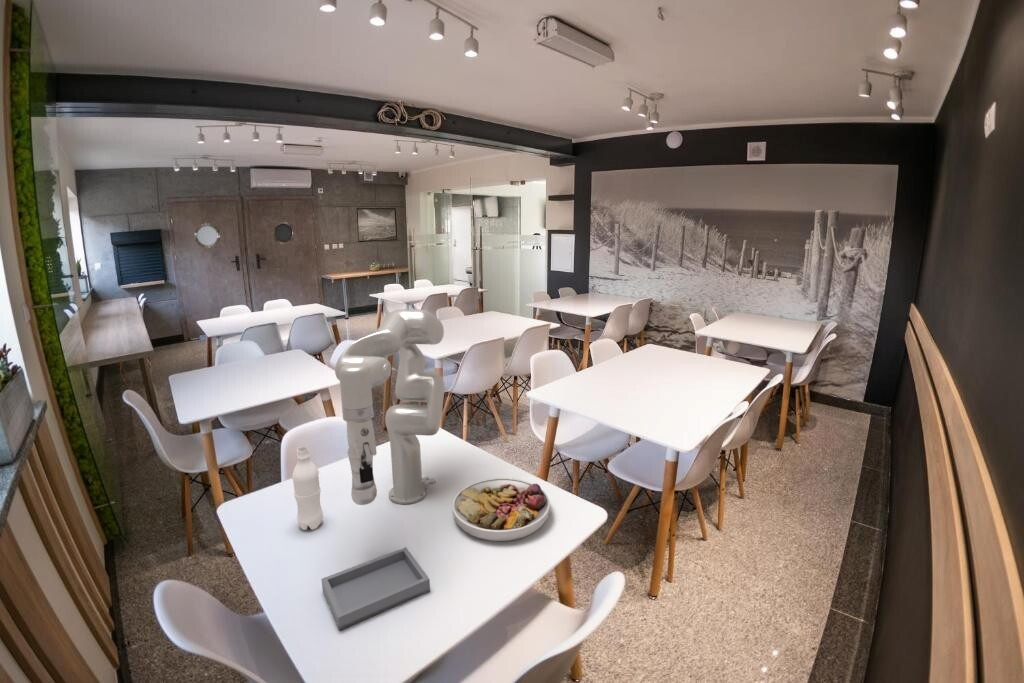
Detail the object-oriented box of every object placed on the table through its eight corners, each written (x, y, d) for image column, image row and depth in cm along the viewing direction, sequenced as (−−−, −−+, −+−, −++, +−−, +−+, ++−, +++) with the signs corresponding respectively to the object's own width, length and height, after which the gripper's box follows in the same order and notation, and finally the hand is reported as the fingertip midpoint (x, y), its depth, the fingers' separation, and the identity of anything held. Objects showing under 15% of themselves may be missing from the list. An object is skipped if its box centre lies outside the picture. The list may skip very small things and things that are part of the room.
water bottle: (315, 533, 146) (306, 455, 140) (293, 531, 147) (283, 453, 142) (328, 519, 153) (320, 444, 147) (307, 517, 154) (299, 442, 148)
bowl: (478, 559, 135) (477, 534, 133) (438, 506, 160) (437, 484, 159) (569, 527, 149) (569, 503, 147) (519, 483, 174) (519, 462, 173)
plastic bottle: (382, 497, 135) (377, 428, 131) (367, 510, 129) (361, 438, 124) (362, 493, 137) (356, 425, 133) (346, 505, 131) (340, 434, 127)
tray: (406, 558, 135) (406, 546, 134) (430, 591, 123) (429, 578, 122) (322, 591, 123) (321, 578, 123) (339, 631, 111) (338, 617, 110)
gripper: (383, 419, 122) (387, 486, 126) (362, 399, 136) (367, 460, 140) (352, 425, 118) (358, 494, 122) (334, 404, 132) (339, 467, 136)
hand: (362, 475), depth 131 cm, fingers closed on plastic bottle, 6 cm apart
